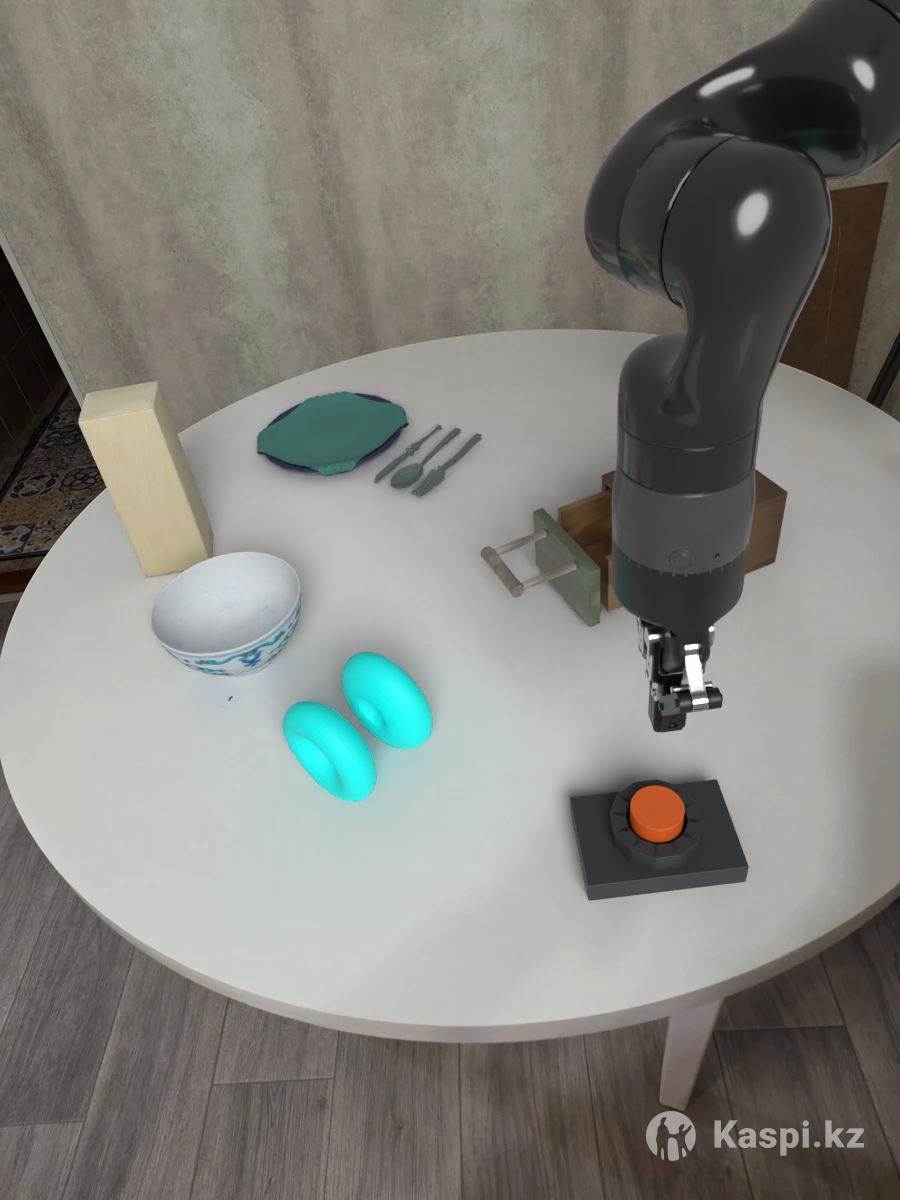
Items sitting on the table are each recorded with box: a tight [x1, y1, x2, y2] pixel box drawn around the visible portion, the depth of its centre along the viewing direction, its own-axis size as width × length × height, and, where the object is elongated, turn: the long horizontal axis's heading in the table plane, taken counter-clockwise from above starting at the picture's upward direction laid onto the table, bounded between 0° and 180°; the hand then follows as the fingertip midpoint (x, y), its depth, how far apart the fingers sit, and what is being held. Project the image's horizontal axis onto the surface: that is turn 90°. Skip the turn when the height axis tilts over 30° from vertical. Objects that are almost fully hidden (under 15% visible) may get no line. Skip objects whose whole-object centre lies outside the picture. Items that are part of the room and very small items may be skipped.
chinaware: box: [149, 551, 302, 678], centre depth 88 cm, size 15×15×8 cm
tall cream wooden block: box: [77, 380, 214, 578], centre depth 98 cm, size 8×7×21 cm
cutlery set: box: [256, 390, 482, 498], centre depth 117 cm, size 20×30×2 cm, turn 55°
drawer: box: [479, 489, 623, 628], centre depth 88 cm, size 20×11×7 cm, turn 114°
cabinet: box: [601, 468, 789, 575], centre depth 91 cm, size 14×13×9 cm
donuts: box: [282, 651, 434, 803], centre depth 75 cm, size 10×10×10 cm
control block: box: [569, 778, 750, 902], centre depth 67 cm, size 12×8×4 cm, turn 94°
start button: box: [630, 785, 685, 843], centre depth 66 cm, size 4×4×2 cm
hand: (666, 722), depth 60 cm, fingers closed
